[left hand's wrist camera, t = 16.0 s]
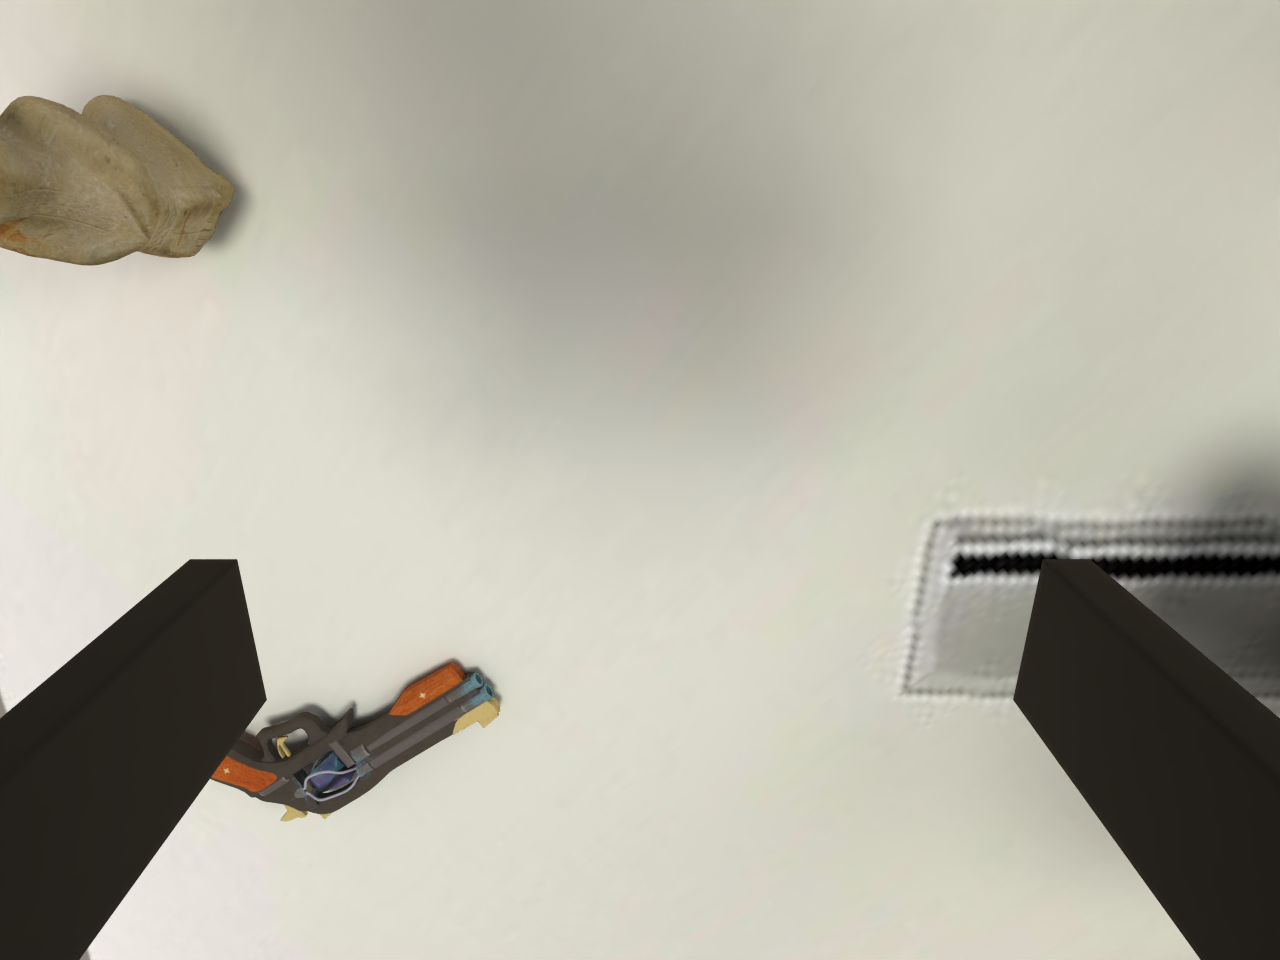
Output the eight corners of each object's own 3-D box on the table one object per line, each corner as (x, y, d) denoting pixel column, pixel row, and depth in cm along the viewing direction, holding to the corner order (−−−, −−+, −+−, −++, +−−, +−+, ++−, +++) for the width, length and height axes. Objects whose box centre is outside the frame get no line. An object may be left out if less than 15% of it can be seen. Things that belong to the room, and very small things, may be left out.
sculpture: (131, 73, 35) (-206, 0, 21) (269, 182, 37) (41, 183, 23) (74, 177, 37) (-274, 174, 23) (209, 278, 38) (-38, 333, 24)
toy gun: (145, 752, 46) (253, 872, 48) (400, 590, 44) (502, 723, 45) (173, 727, 49) (273, 842, 51) (414, 573, 46) (509, 700, 48)
